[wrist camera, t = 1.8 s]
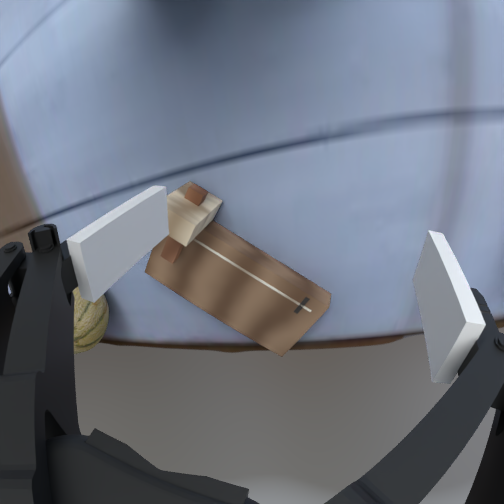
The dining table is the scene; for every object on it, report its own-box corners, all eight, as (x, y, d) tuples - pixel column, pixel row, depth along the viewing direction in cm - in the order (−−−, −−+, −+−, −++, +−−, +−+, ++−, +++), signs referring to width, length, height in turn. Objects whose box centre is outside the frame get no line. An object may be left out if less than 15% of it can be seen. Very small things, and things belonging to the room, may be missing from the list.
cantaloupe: (58, 258, 57) (6, 298, 44) (106, 257, 52) (48, 306, 40) (85, 318, 63) (43, 361, 51) (134, 325, 58) (90, 379, 46)
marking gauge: (166, 236, 46) (136, 263, 39) (194, 171, 40) (161, 190, 33) (195, 254, 46) (168, 285, 39) (227, 191, 40) (200, 214, 33)
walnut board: (154, 262, 49) (144, 272, 47) (179, 199, 43) (167, 207, 40) (286, 343, 49) (281, 357, 47) (331, 293, 43) (329, 307, 40)
